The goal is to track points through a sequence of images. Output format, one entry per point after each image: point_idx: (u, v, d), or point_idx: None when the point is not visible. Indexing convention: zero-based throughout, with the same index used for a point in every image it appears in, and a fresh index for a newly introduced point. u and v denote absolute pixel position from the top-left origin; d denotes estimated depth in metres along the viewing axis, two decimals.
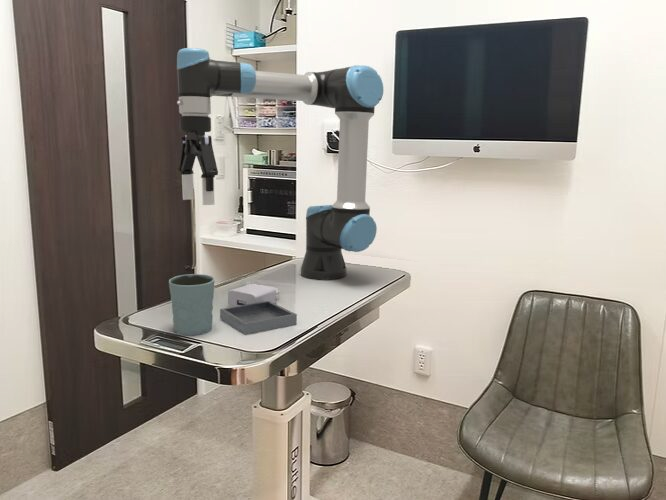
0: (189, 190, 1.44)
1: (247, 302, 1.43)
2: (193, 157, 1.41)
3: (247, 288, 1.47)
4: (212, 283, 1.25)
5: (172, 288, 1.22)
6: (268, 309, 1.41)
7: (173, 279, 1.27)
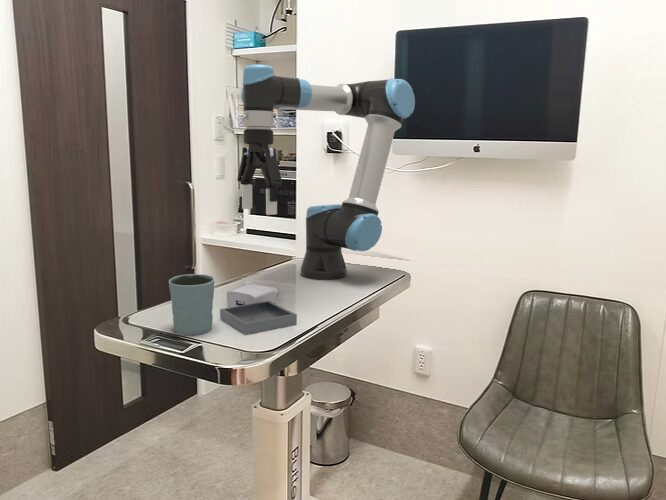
0: (248, 200, 1.50)
1: (246, 302, 1.42)
2: (254, 168, 1.46)
3: (246, 288, 1.47)
4: (212, 283, 1.25)
5: (172, 288, 1.22)
6: (268, 309, 1.41)
7: (173, 279, 1.27)
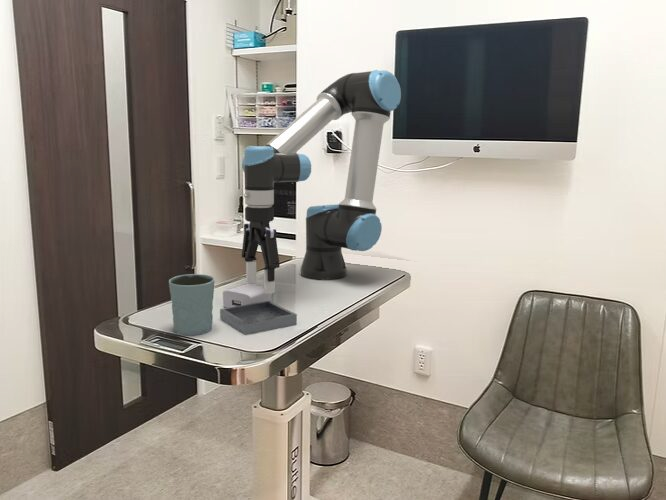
0: (252, 276, 1.53)
1: (242, 302, 1.42)
2: (256, 244, 1.50)
3: (242, 288, 1.46)
4: (212, 283, 1.25)
5: (172, 288, 1.22)
6: (268, 309, 1.41)
7: (173, 279, 1.27)
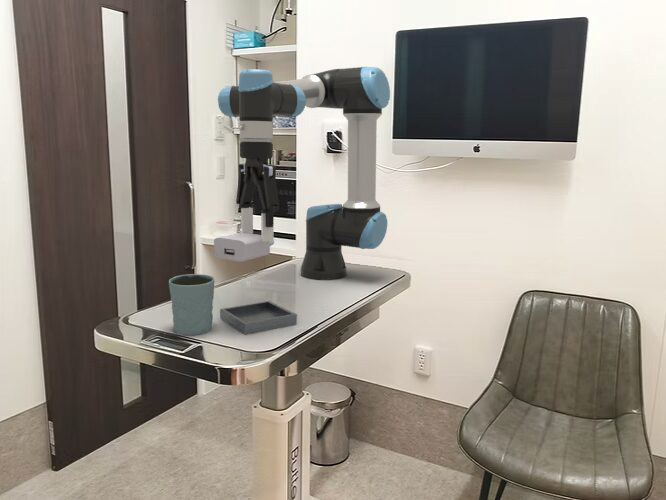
0: (248, 225, 1.34)
1: (236, 250, 1.23)
2: (253, 186, 1.31)
3: (236, 236, 1.27)
4: (212, 283, 1.25)
5: (172, 288, 1.22)
6: (268, 309, 1.41)
7: (173, 279, 1.27)
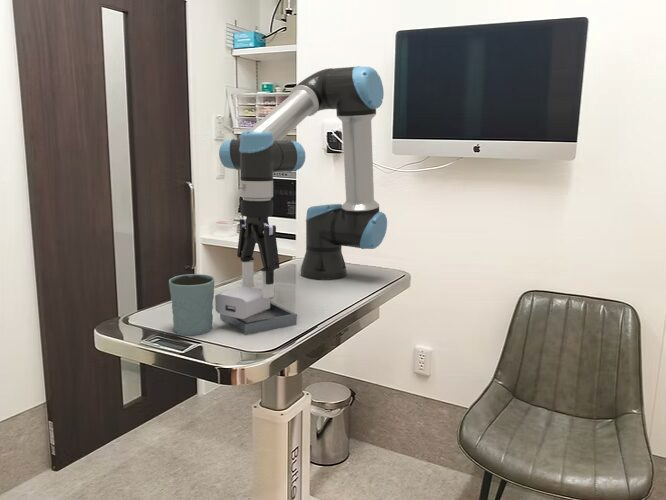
0: (249, 278, 1.36)
1: (237, 307, 1.25)
2: (254, 242, 1.33)
3: (237, 291, 1.30)
4: (212, 283, 1.25)
5: (172, 288, 1.22)
6: (268, 309, 1.41)
7: (173, 279, 1.27)
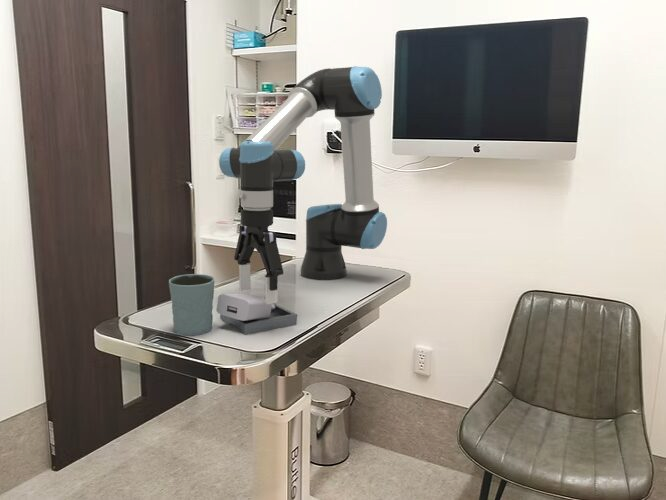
0: (246, 280, 1.38)
1: (239, 309, 1.25)
2: (252, 248, 1.34)
3: (241, 295, 1.30)
4: (212, 283, 1.25)
5: (172, 288, 1.22)
6: None
7: (173, 279, 1.27)
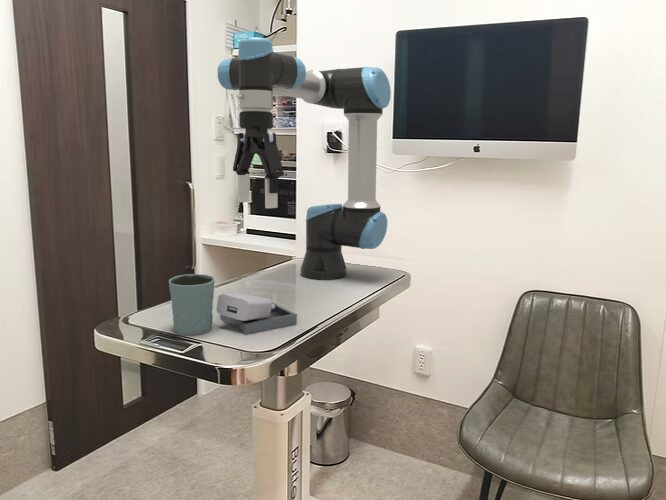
0: (245, 192, 1.34)
1: (239, 309, 1.25)
2: (251, 156, 1.30)
3: (241, 295, 1.30)
4: (212, 283, 1.25)
5: (172, 288, 1.22)
6: None
7: (173, 279, 1.27)
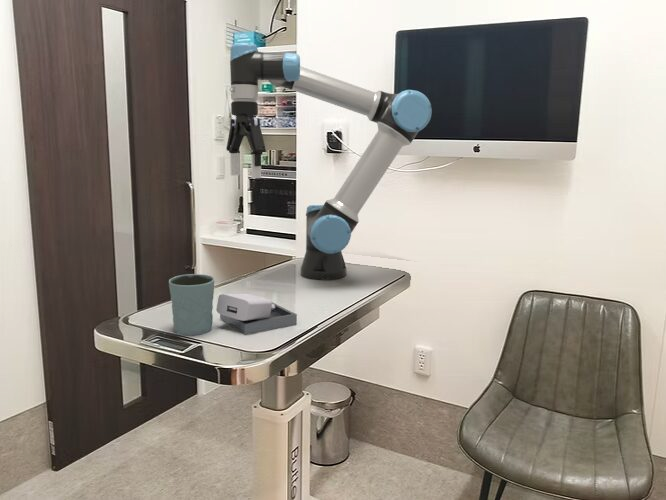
0: (236, 167, 1.66)
1: (239, 309, 1.25)
2: (241, 138, 1.62)
3: (241, 295, 1.30)
4: (212, 283, 1.25)
5: (172, 288, 1.22)
6: None
7: (173, 279, 1.27)
